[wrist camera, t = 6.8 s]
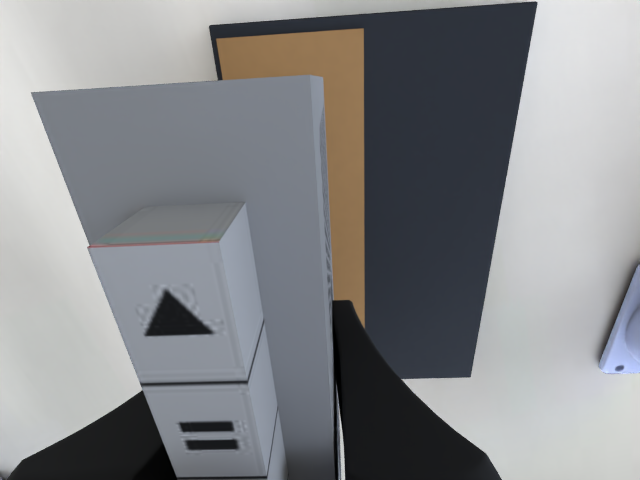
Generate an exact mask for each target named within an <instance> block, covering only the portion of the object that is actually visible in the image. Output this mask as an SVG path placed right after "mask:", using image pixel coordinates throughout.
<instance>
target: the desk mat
mask: <svg viewBox="0 0 640 480" xmlns="http://www.w3.org/2000/svg"><path fill="white" fill-rule="evenodd" d="M536 8H537V2H522V3H509V4H495V5H481V6H467V7H454V8H440V9H426V10H412V11H399V12H385V13H371V14H358V15H344V16H330V17H316V18H303V19H289V20H275V21H261V22H248V23H234V24H220V25H210V26H209V29H210V35H211V41H212V47H213V53H214V59H215V65H216V71H217V76H218V81H219V80H235V79H251V78H266V77H282V76H298V75H314V76H319V77H323V85H324V106H325V126H326V147H327V168H328V189H329V210H330V231H331V252H332V273H333V293H334V300H350V301H352V302H353V305H354V308H355V311H356V313H357V315H358V317H359V319H360V321H361V323H362V325H363V327H364V329H365V330H366V332H367V334H368V335H369V337H370V338H371V340H372V342H373V343H374V345H375V346H376V348H377V349H378V351H379V352H380V353H381V355H382V356H383V358H384V359H385V360H386V362H387V363H388V364H389V365H390V367H391V368H392V369H393V370H394V372H395V373H396V374H397V375H398V376H399V377H400V379H418V378H459V377H471V371H472V366H473V360H474V354H475V349H476V343H477V338H478V332H479V327H480V321H481V315H482V310H483V304H484V299H485V293H486V287H487V282H488V276H489V271H490V265H491V259H492V254H493V248H494V243H495V237H496V231H497V226H498V220H499V215H500V209H501V204H502V198H503V192H504V187H505V181H506V176H507V170H508V164H509V159H510V153H511V148H512V142H513V136H514V131H515V125H516V120H517V114H518V108H519V103H520V97H521V92H522V86H523V81H524V75H525V69H526V64H527V58H528V53H529V47H530V41H531V36H532V30H533V25H534V19H535V13H536Z"/></svg>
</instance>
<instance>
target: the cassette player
mask: <svg viewBox="0 0 640 480" xmlns="http://www.w3.org/2000/svg"><path fill="white" fill-rule="evenodd" d="M31 94H32V97H33V99H34V102H35V105H36V107H37V110H38V112H39V115H40V118H41V120H42V123H43V125H44V128H45V131H46V133H47V136H48V138H49V141H50V143H51V146H52V149H53V151H54V154H55V156H56V159H57V162H58V164H59V167H60V169H61V172H62V175H63V177H64V180H65V182H66V185H67V188H68V190H69V193H70V195H71V198H72V201H73V203H74V206H75V208H76V211H77V214H78V216H79V219H80V221H81V224H82V227H83V229H84V232H85V234H86V237H87V240H88V242H89V245H90V246H89V247H87V248H88V251H89V254H90V256H91V259H92V261H93V264H94V266H95V269H96V271H97V274H98V277H99V279H100V282H101V284H102V287H103V289H104V292H105V295H106V297H107V300H108V302H109V305H110V307H111V310H112V313H113V315H114V318H115V320H116V323H117V325H118V328H119V330H120V333H121V336H122V338H123V341H124V343H125V346H126V348H127V351H128V354H129V356H130V359H131V361H132V364H133V366H134V369H135V372H136V374H137V377H138V379H139V382H140V384H141V387H142V389H143V392H144V395H145V397H146V400H147V402H148V405H149V407H150V410H151V413H152V415H153V418H154V420H155V423H156V425H157V428H158V430H159V433H160V436H161V438H162V441H163V443H164V446H165V448H166V451H167V454H168V456H169V459H170V461H171V464H172V466H173V469H174V472H175V474H176V477H177V479H178V480H341V456H340V425H339V400H338V392H337V384H336V371H335V352H334V332H333V300H334V293H333V273H332V252H331V231H330V210H329V189H328V168H327V147H326V126H325V106H324V85H323V77H319V76H314V75H298V76H282V77H266V78H251V79H235V80H219V81H204V82H188V83H172V84H157V85H141V86H125V87H109V88H94V89H78V90H62V91H47V92H31Z"/></svg>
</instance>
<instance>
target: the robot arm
mask: <svg viewBox="0 0 640 480" xmlns="http://www.w3.org/2000/svg"><path fill="white" fill-rule="evenodd" d="M333 332H334V352H335V371H336V384H337V392H338V400H339V408H340V416H341V424H342V431H343V441H344V458H345V480H502V479H501V478H500V476H499V474H498V472H497V471H496V469H495V467H494V466H493V464H492V462H491V461H490V459H489V458H488V456H487V454H486V453H484V452H483V451H482V450H480V449H479V448H478V447H476V446H475V445H474V444H472V443H471V442H470V441H468V440H467V439H466V438H464V437H463V436H462V435H460V434H459V433H458V432H456V431H455V430H454V429H453V428H451V427H450V426H449V425H448V424H447V423H446V422H444V421H443V420H442V419H441V418H440V417H439V416H437V415H436V414H435V413H434V412H433V411H432V410H431V409H430V408H429V407H428V406H427V405H426V404H425V403H424V402H423V401H422V400H421V399H420V398H418V397H417V396H416V395H415V394H414V393H413V392H412V391H411V390H410V388H409V387H408V386H407V385H406V384H405V383H404V382H403V381H402V380H401V379H400V377H399V376H398V375H397V374H396V373H395V372H394V370H393V369H392V368H391V367H390V365H389V364H388V363H387V362H386V360H385V359H384V358H383V356H382V355H381V353H380V352H379V351H378V349H377V348H376V346H375V345H374V343H373V342H372V340H371V338H370V337H369V335H368V334H367V332H366V330H365V329H364V327H363V325H362V323H361V321H360V319H359V317H358V315H357V313H356V311H355V308H354V305H353V302H352V301H350V300H333ZM599 368H600V369H601V370H602V371H603V372H604V373H607V374H617V373H640V264H639V265H638V266H637V268H636V271H635V273H634V276H633V278H632V281H631V284H630V286H629V289H628V291H627V294H626V296H625V299H624V301H623V304H622V307H621V309H620V312H619V314H618V317H617V319H616V322H615V324H614V327H613V330H612V332H611V335H610V337H609V340H608V342H607V345H606V347H605V350H604V353H603V355H602V358H601V360H600V363H599ZM7 480H178V479H177V477H176V474H175V472H174V469H173V466H172V464H171V461H170V459H169V456H168V454H167V451H166V448H165V446H164V443H163V441H162V438H161V436H160V433H159V430H158V428H157V425H156V423H155V420H154V418H153V415H152V413H151V410H150V407H149V405H148V402H147V400H146V397H145V395H144V392H143V390H142V391H141V392H139V393H138V394H136V395H135V396H134V397H132V398H131V399H129V400H128V401H126V402H125V403H123V404H122V405H120V406H119V407H117V408H116V409H114V410H113V411H111V412H109V413H108V414H106V415H105V416H103V417H101V418H100V419H98V420H96V421H95V422H93V423H91V424H90V425H88V426H86V427H84V428H83V429H81V430H79V431H77V432H76V433H74V434H72V435H70V436H68V437H66V438H64V439H63V440H61V441H59V442H57V443H55V444H53V445H51V446H49V447H47V448H45V449H43V450H41V451H39V452H37V453H36V454H34V455H32V456H30V457H28V458H25V459H23V460H22V461H21V462H20V464H19V465H18V466H17V467H16V468H15V470H14V471H13V472H12V473H11V475H10V476H9V477H8V478H7Z"/></svg>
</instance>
